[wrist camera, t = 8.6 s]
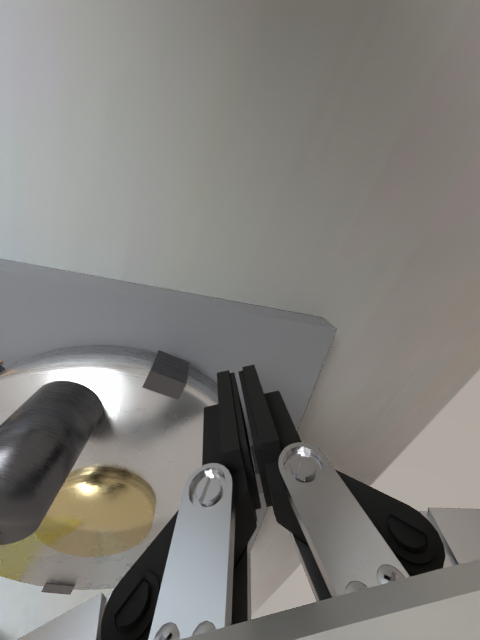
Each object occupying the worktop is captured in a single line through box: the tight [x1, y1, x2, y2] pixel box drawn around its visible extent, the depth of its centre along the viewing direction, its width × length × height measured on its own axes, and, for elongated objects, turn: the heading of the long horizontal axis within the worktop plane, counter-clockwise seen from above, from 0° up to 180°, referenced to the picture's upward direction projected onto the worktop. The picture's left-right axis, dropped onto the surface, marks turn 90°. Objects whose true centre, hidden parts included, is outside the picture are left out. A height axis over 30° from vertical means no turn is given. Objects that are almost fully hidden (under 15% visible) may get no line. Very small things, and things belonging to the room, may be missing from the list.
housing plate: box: [0, 259, 336, 551], centre depth 17 cm, size 24×24×2 cm
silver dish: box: [0, 345, 263, 594], centre depth 13 cm, size 18×19×7 cm
